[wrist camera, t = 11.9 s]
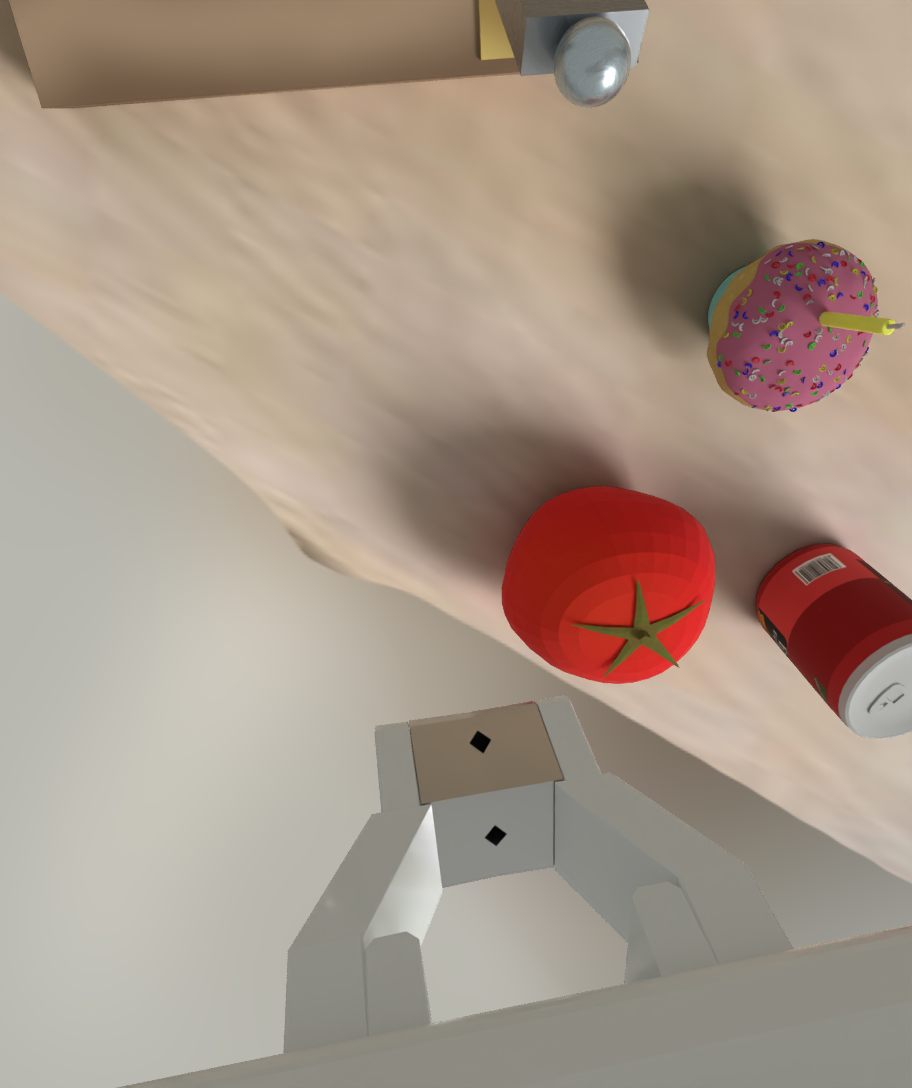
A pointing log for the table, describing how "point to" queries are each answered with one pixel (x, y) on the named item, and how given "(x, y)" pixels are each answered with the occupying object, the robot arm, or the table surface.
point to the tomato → (609, 583)
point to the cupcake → (793, 325)
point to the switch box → (250, 46)
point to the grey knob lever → (576, 43)
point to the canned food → (844, 635)
